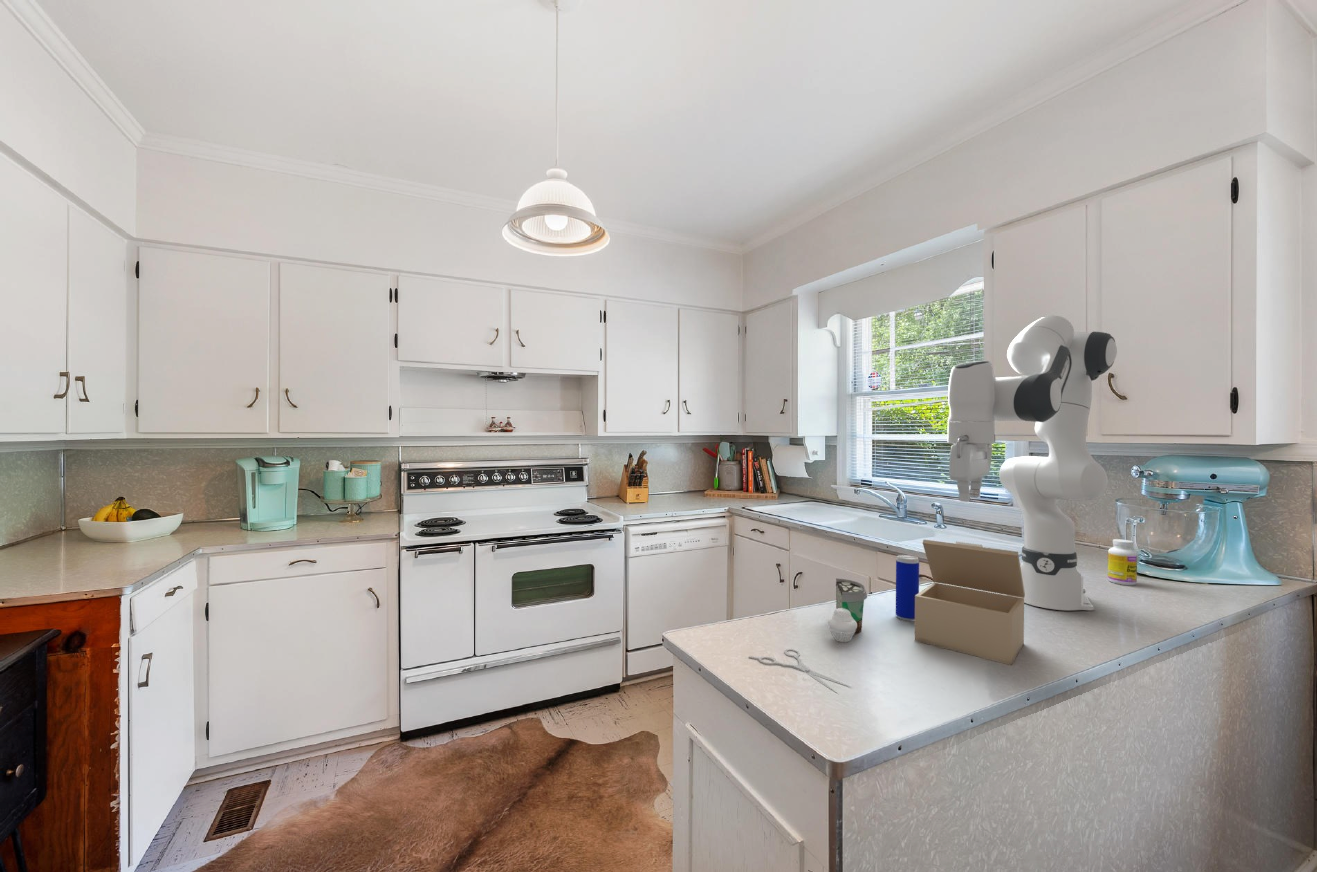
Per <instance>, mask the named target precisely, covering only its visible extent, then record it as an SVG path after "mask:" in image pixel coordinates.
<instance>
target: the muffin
mask: <svg viewBox="0 0 1317 872" xmlns="http://www.w3.org/2000/svg"><path fill="white" fill-rule="evenodd" d="M827 625H828V628H829V630H830V632H831V634H832V636H833V638H834V640H835V641H837V642H840V643H848V642H850V641H851V639H852V638H853V636H855V634H854V633H855V631H856V628H857V623H856V621H855V620H854V619H853V617H852V616H851V613H850V611H849V610H847V609H844V608H838V609H834V610H833V614H832V615H831V616H830V617H829V618H828V619H827Z"/></svg>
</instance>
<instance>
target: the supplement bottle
mask: <svg viewBox="0 0 1317 872" xmlns="http://www.w3.org/2000/svg"><path fill="white" fill-rule="evenodd" d="M1112 545H1113V546H1112V547H1110V548H1109V549H1108V552H1107V553H1108V557H1107V558H1108V563H1107V564H1108V565H1107V580H1108V581H1109V582H1110V583H1112V584H1117V585H1120V584H1121V585H1120V586H1135V585H1137V584H1138V583H1137V582H1138V580H1137V579H1138V578H1137V577H1138V552H1137V551H1136V550H1134V549H1133V547H1134V541H1133V540H1130V539H1129V540H1128V539H1119V538H1114V539H1112Z"/></svg>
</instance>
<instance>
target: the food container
mask: <svg viewBox="0 0 1317 872" xmlns="http://www.w3.org/2000/svg"><path fill="white" fill-rule="evenodd" d="M835 590H836V591H835V594H836V595H835V596H836V597H835V605H836V607H835V608H836V609H838V608H844V609H847V610H849V611H850V613H851V616H852V617H853V619H854V620H855V621H856V623H857V628H856V631H855V633H854V635H858V634H860V633H861V632H862V628H863V626H862V625H863V616H864V615H863V614H864V604H865V600H866V599H867V598H868V594H867V590H866V588H865V585H864V584H862V583H860V582H858V581H855V580H851V579H846V578H835ZM836 609H835V610H836Z"/></svg>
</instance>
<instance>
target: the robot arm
mask: <svg viewBox="0 0 1317 872" xmlns="http://www.w3.org/2000/svg"><path fill="white" fill-rule="evenodd" d="M1074 330H1075V329H1074V327H1073V325H1072V323H1071V322H1070V321H1069V320H1068V319H1067V318H1064V317H1063V316H1059V315H1054V314H1053V315H1052V314H1051V315H1046V316H1044V317H1040V318H1038V319H1037V320H1035V321H1033V322H1031V323H1030V324H1029V325H1027V326H1026V327H1025V328H1023V330H1021V331H1020V332H1019V333H1018V334H1017V336H1015V337H1013V338H1014V339H1013V340H1012V341H1011V342H1010V343H1009V346H1008V348H1007V353H1006V357H1007V360H1008V363H1009V365H1010V366H1011V368H1012V369H1013V370H1014V371H1015V372H1017V373H1018V374H1019V375H1017V376H1004V377H997V376H996V375H994V367H993V364H992V361H989V360H983V359H982V360H973V361H972V360H971V361H964V362H958V363H957V364H955V365H953V367H952V368H951V370H950V375H949V378H948V379H949V380H948V388H947V389H948V391H947V393H948V394H947V403H948V406H949V415H948V418H947V443H948V444H952V445H951V447H950V453H949V465H948V466H949V468H948V470H949V471H948V475H949V480H951V481H956V486H957V490H958V501H960V502H966V503H968V502H970V500H971V498H974V499H977V498H980V497H981V488H982V484H983V478H985V477H987V476H988V475H989V474H990V470H991V464H992V453H993V445H994V444H995V443H996V434H995V433H996V432H995V430H996V429H995V428H996V427H995V425H996V422H995V421H998V422H999V421H1000V422H1001V421H1002V422H1003V421H1005V422H1006V421H1007V422H1009V421H1010V422H1011V421H1015V422H1017V421H1025V422H1034V423H1035V425H1034V433H1035V435H1036V437H1038V439H1039V440H1041V441H1042V442H1044V443H1045V444H1047V445H1048V452H1049V453H1048V456H1039V455H1038V456H1035V455H1034V456H1033V455H1024V456H1015V457H1010V458H1008V459H1006V460H1005V461H1004V462H1003V463H1002V465H1001V466H1000V468H999V472H998V473H999V475H998V476H999V481H1000V484H1001V486H1002V487H1003V488H1004V489H1005V490H1007V491H1008V493H1010V494H1011V496H1012V497H1013V499H1014V500H1015V501H1016V503H1017V505H1018V508H1019V511H1020V513H1021V516H1022V523H1023V546H1022V548H1021V552H1020V553H1021V563H1020V567H1021V573H1022V579H1023V586H1024V592H1025V597H1024V604H1027V605H1030V606H1034V607H1040V608H1044V609H1050V610H1058V611H1094V605H1093V604H1092V602H1091V600H1090V599H1089V598H1088V596H1087V594H1086V590H1085V588H1084V576H1083V575H1082V574H1081V572H1079V571H1078V570H1077V568H1076V567H1077V566H1078V557H1077V556H1078V555H1077V552H1076V548H1075V547H1076V526H1075V523H1074V521H1073V520H1072V518H1071V517H1070V516H1069V515H1066V514H1065V513H1064V512H1063V511H1062V510H1061V509H1060V508H1059V506H1058V504H1057V503H1056V500H1063V501H1072V502H1077V501H1079V502H1080V501H1092V500H1093V501H1094V500H1097V499H1099V498H1100V497H1102V495H1104V492H1106V490H1107V488H1108V483H1109V482H1108V481H1109V479H1108V475H1107V472H1106V470H1105V469H1104V467H1103V466H1102V465H1101V464H1099V462H1097V461H1096V460H1095V459H1094V458H1093V456H1092V455H1091V453H1090V451H1089V448H1088V445H1087V430H1088V429H1087V428H1088V422H1089V416H1090V411H1091V405H1092V398H1093V385H1092V384H1093V383H1092V381H1095V380H1097V379H1098V378H1099V377H1100V376H1102V375H1103V374H1105V373H1106V372H1107V371H1109V370H1110V369H1111V367H1112V366H1114V363H1115V360H1116V357H1117V354H1118V353H1117V352H1118V347H1117V342H1116V339H1115V338H1114V337H1113V335H1111V333H1107V332H1103V331H1092V332H1089V331H1088V332H1087V331H1086V332H1084V331H1083V332H1080V331H1074ZM1007 596H1010V595H1007ZM1013 597H1016V596H1013ZM1019 598H1021V597H1019Z"/></svg>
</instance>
